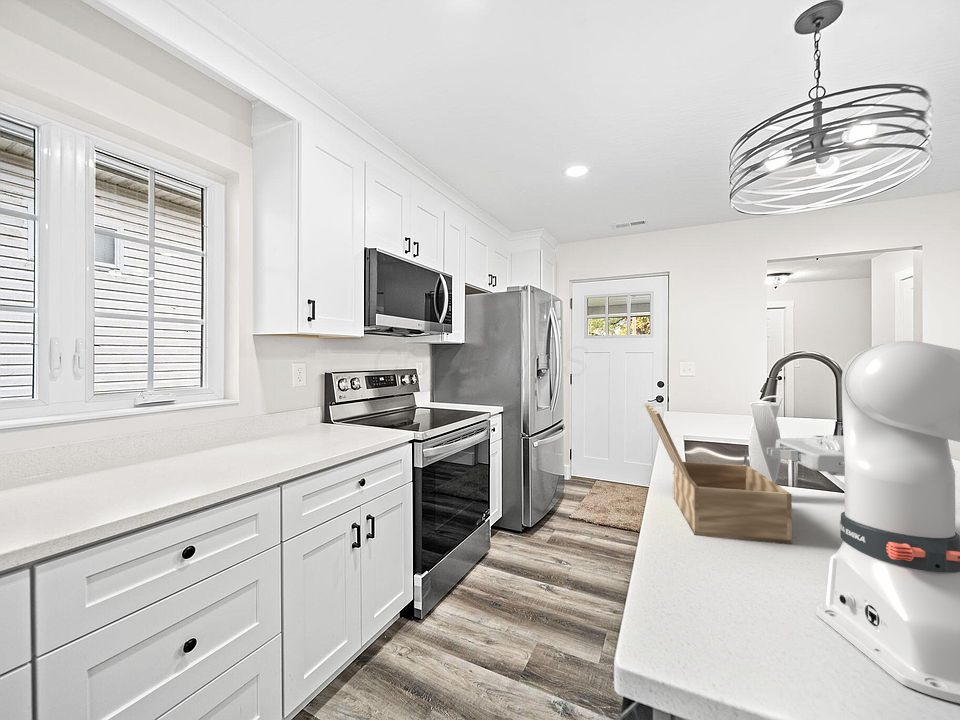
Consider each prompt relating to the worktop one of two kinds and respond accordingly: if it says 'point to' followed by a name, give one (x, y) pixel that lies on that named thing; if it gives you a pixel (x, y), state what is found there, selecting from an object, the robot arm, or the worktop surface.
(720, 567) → the worktop surface
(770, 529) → the wooden box
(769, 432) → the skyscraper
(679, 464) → the lid flap
